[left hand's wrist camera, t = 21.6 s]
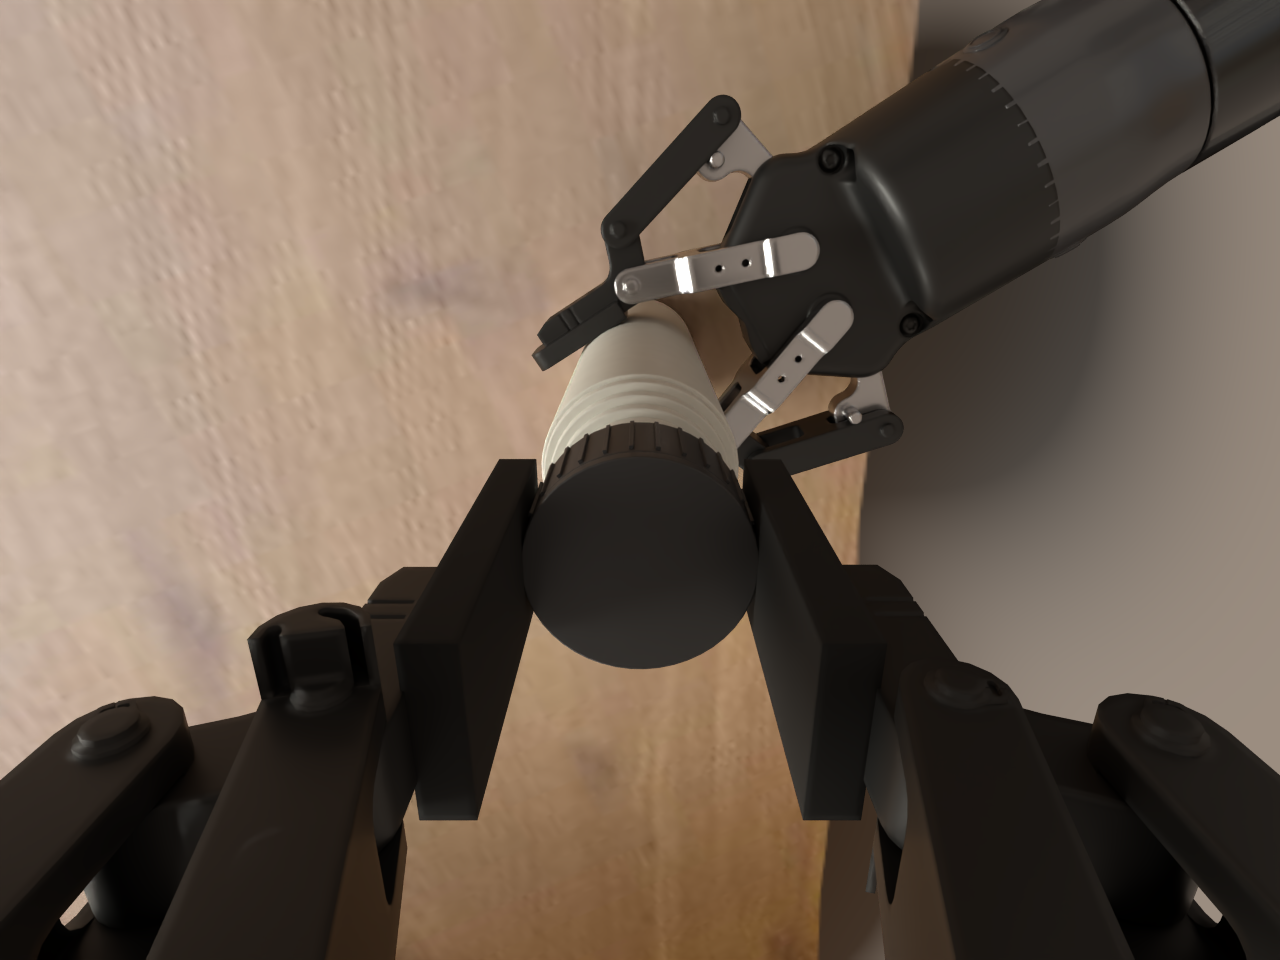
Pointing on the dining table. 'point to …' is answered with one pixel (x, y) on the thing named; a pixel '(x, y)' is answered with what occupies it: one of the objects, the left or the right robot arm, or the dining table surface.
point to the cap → (640, 547)
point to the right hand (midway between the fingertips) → (582, 418)
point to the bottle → (641, 385)
